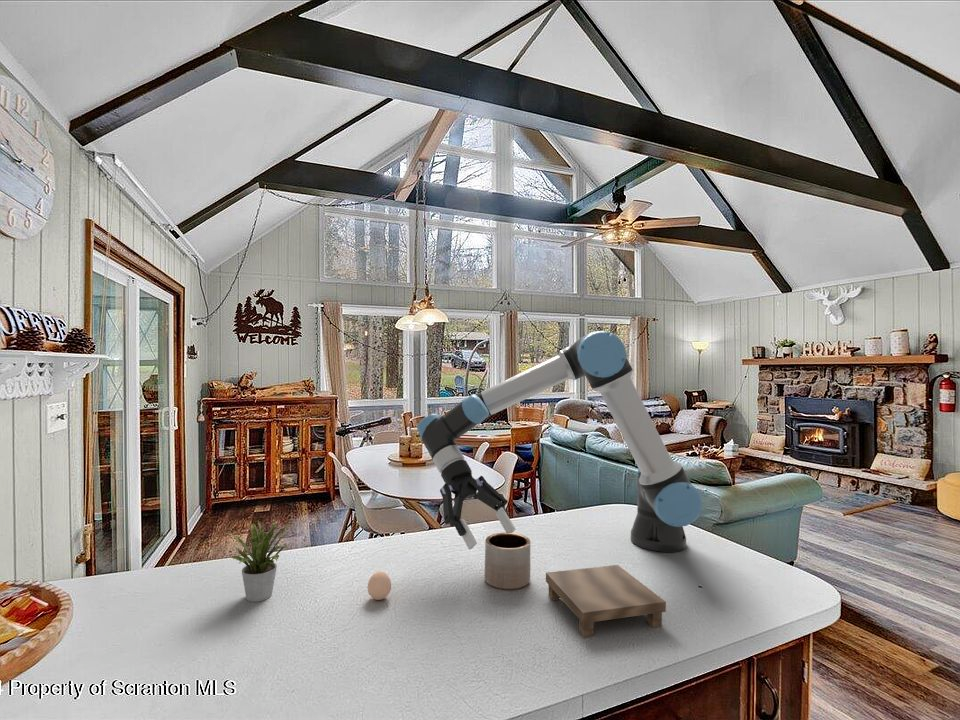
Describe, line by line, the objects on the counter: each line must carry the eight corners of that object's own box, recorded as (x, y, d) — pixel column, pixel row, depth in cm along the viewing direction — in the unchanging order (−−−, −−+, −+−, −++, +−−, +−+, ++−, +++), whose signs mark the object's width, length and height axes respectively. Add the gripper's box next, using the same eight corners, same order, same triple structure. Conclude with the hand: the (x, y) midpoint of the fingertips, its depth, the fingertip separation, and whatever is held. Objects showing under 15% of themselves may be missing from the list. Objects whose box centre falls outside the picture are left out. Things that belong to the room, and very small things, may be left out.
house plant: (313, 589, 113) (314, 517, 113) (263, 618, 101) (264, 537, 101) (267, 577, 119) (267, 508, 119) (214, 602, 107) (215, 526, 107)
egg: (365, 595, 111) (365, 569, 111) (388, 591, 113) (388, 565, 113) (369, 606, 106) (370, 578, 106) (393, 602, 108) (393, 574, 108)
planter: (527, 593, 113) (528, 551, 113) (480, 588, 115) (480, 546, 115) (532, 573, 124) (533, 534, 124) (488, 568, 126) (489, 530, 126)
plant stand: (617, 586, 117) (617, 564, 117) (665, 626, 100) (665, 601, 100) (545, 594, 112) (545, 572, 112) (582, 639, 95) (583, 612, 95)
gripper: (479, 468, 143) (518, 534, 133) (408, 482, 125) (447, 561, 115) (493, 452, 139) (534, 519, 129) (421, 465, 122) (463, 544, 111)
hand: (493, 539), depth 122 cm, fingers open, 13 cm apart
